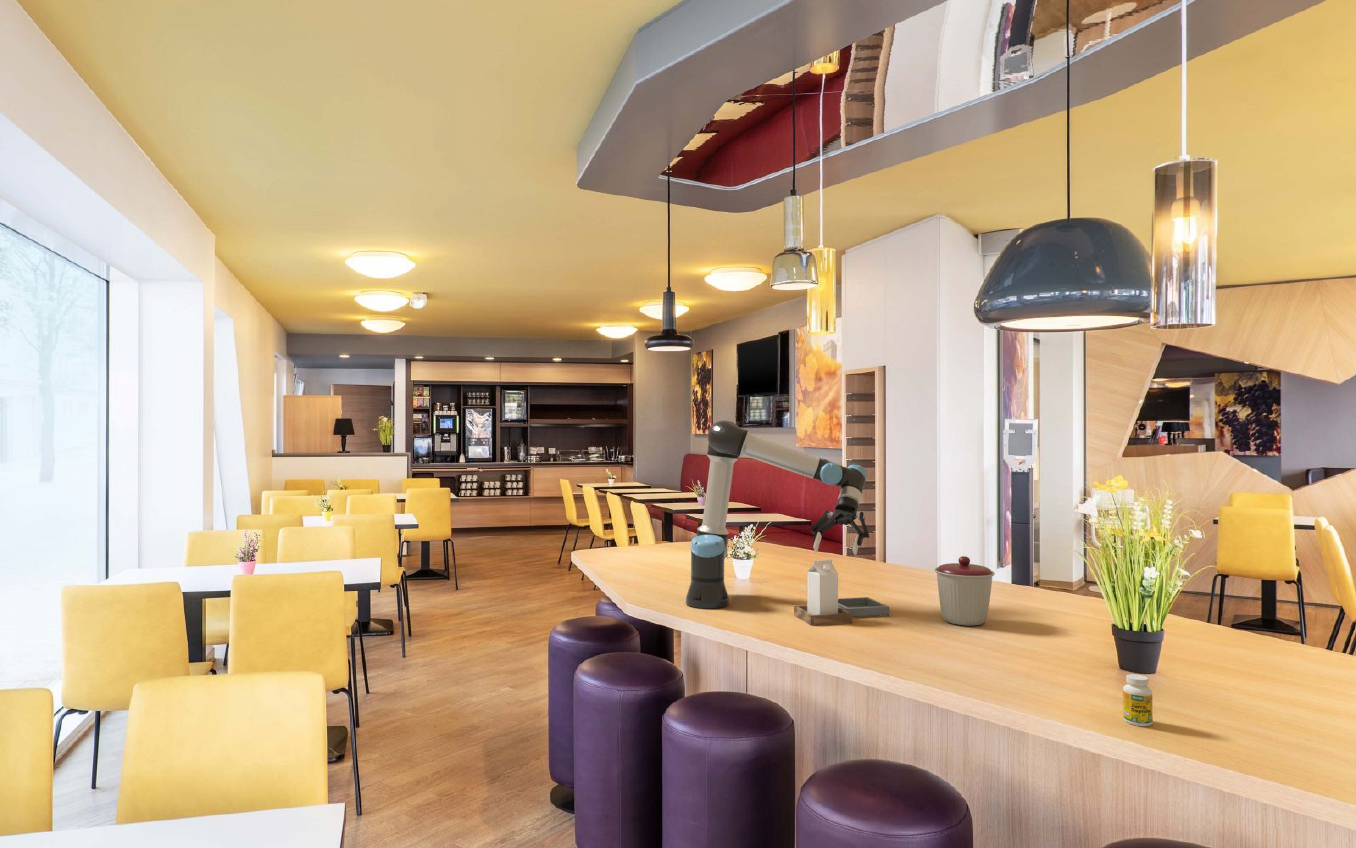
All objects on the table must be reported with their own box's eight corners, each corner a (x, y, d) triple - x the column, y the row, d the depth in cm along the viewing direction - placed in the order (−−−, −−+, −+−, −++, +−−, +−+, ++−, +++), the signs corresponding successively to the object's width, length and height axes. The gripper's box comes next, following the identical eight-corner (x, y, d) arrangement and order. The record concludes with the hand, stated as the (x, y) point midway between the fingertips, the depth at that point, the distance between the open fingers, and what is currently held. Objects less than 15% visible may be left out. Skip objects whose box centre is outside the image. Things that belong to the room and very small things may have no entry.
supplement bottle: (1146, 718, 170) (1146, 673, 170) (1157, 728, 164) (1157, 681, 164) (1118, 717, 170) (1119, 672, 171) (1129, 726, 165) (1129, 680, 165)
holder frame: (794, 615, 262) (794, 606, 262) (833, 613, 266) (833, 604, 266) (811, 625, 249) (811, 615, 249) (852, 623, 252) (852, 613, 252)
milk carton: (807, 617, 259) (807, 559, 259) (825, 615, 262) (825, 558, 262) (819, 622, 252) (819, 562, 252) (838, 620, 255) (838, 561, 255)
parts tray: (828, 607, 273) (828, 599, 273) (867, 605, 277) (867, 597, 277) (847, 618, 259) (847, 608, 259) (889, 615, 262) (889, 606, 262)
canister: (985, 616, 262) (985, 552, 262) (1002, 630, 244) (1002, 561, 244) (928, 615, 263) (929, 551, 264) (941, 628, 245) (941, 560, 246)
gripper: (885, 511, 276) (873, 560, 263) (817, 507, 288) (802, 555, 275) (881, 496, 271) (868, 546, 258) (811, 494, 284) (796, 541, 271)
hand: (834, 551), depth 267 cm, fingers open, 13 cm apart
